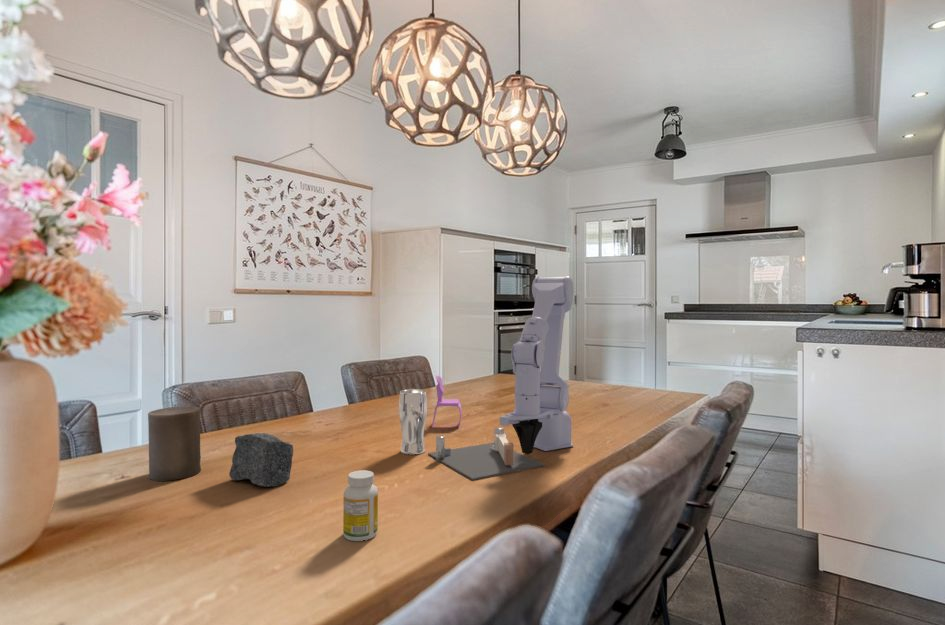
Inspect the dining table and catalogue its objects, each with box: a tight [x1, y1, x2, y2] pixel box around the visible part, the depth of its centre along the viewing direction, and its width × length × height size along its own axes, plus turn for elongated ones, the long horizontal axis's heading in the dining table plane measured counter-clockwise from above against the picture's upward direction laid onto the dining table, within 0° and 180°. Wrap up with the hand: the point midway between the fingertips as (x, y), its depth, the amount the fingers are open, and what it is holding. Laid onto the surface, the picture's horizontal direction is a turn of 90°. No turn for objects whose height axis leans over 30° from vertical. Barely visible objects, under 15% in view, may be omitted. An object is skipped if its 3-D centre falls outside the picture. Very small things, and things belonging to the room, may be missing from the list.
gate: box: [495, 433, 515, 465], centre depth 120 cm, size 13×2×4 cm, turn 6°
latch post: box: [435, 435, 452, 463], centre depth 121 cm, size 4×3×6 cm
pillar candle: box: [147, 403, 202, 482], centre depth 110 cm, size 10×10×15 cm
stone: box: [228, 432, 294, 488], centre depth 105 cm, size 12×8×10 cm, turn 64°
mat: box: [428, 442, 546, 481], centre depth 120 cm, size 19×21×1 cm
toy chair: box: [431, 375, 462, 429], centre depth 154 cm, size 8×9×15 cm
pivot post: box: [490, 426, 505, 451], centre depth 128 cm, size 4×4×6 cm
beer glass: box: [398, 388, 428, 456], centre depth 127 cm, size 7×7×15 cm
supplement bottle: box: [342, 469, 379, 542], centre depth 81 cm, size 5×5×10 cm
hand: (527, 453), depth 118 cm, fingers closed
